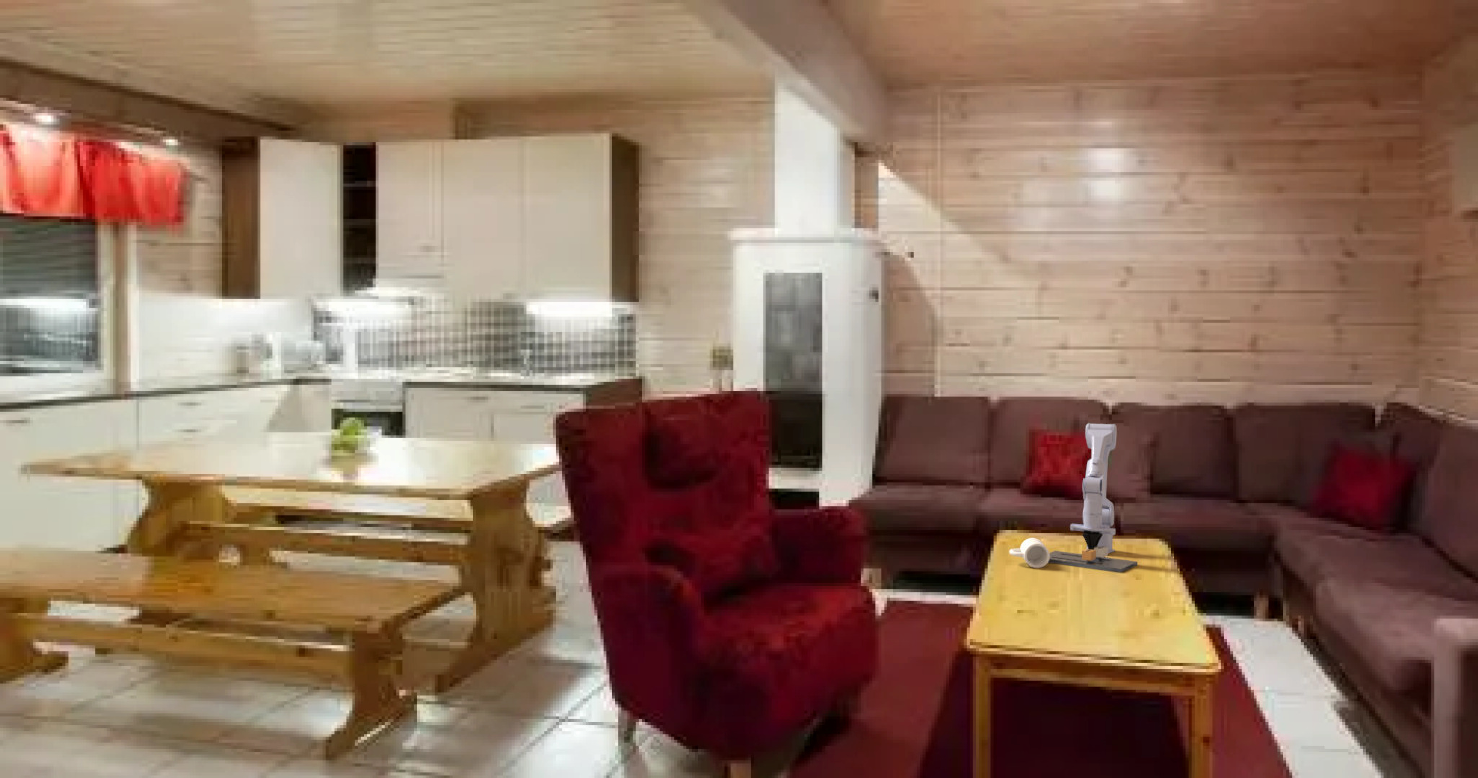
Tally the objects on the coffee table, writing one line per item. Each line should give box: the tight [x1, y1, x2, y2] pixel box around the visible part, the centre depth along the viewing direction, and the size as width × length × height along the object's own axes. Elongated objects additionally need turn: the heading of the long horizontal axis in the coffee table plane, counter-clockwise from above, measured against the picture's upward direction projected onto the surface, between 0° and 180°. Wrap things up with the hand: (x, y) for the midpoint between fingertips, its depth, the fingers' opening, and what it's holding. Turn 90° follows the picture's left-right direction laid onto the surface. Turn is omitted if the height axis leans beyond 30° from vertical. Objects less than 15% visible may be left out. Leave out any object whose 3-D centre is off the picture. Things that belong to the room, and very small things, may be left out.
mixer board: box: [1047, 550, 1138, 574], centre depth 372 cm, size 14×28×1 cm, turn 51°
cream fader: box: [1094, 546, 1109, 559], centre depth 373 cm, size 4×3×4 cm
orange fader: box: [1081, 548, 1096, 562], centre depth 368 cm, size 4×3×4 cm
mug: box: [1008, 537, 1051, 569], centre depth 370 cm, size 12×10×8 cm
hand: (1092, 554), depth 374 cm, fingers closed
